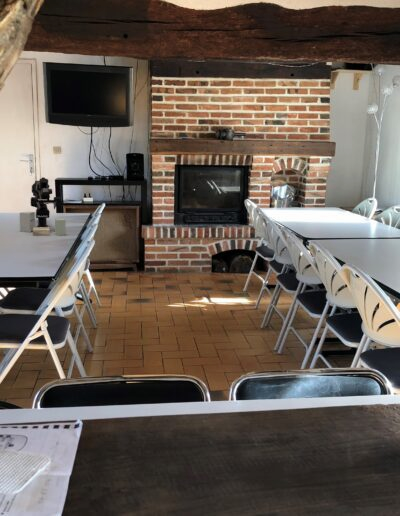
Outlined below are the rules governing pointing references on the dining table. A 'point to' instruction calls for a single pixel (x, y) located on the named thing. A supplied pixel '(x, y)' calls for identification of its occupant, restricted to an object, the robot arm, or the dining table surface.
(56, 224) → the sage block
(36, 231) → the birch plinth
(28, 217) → the supplement box
